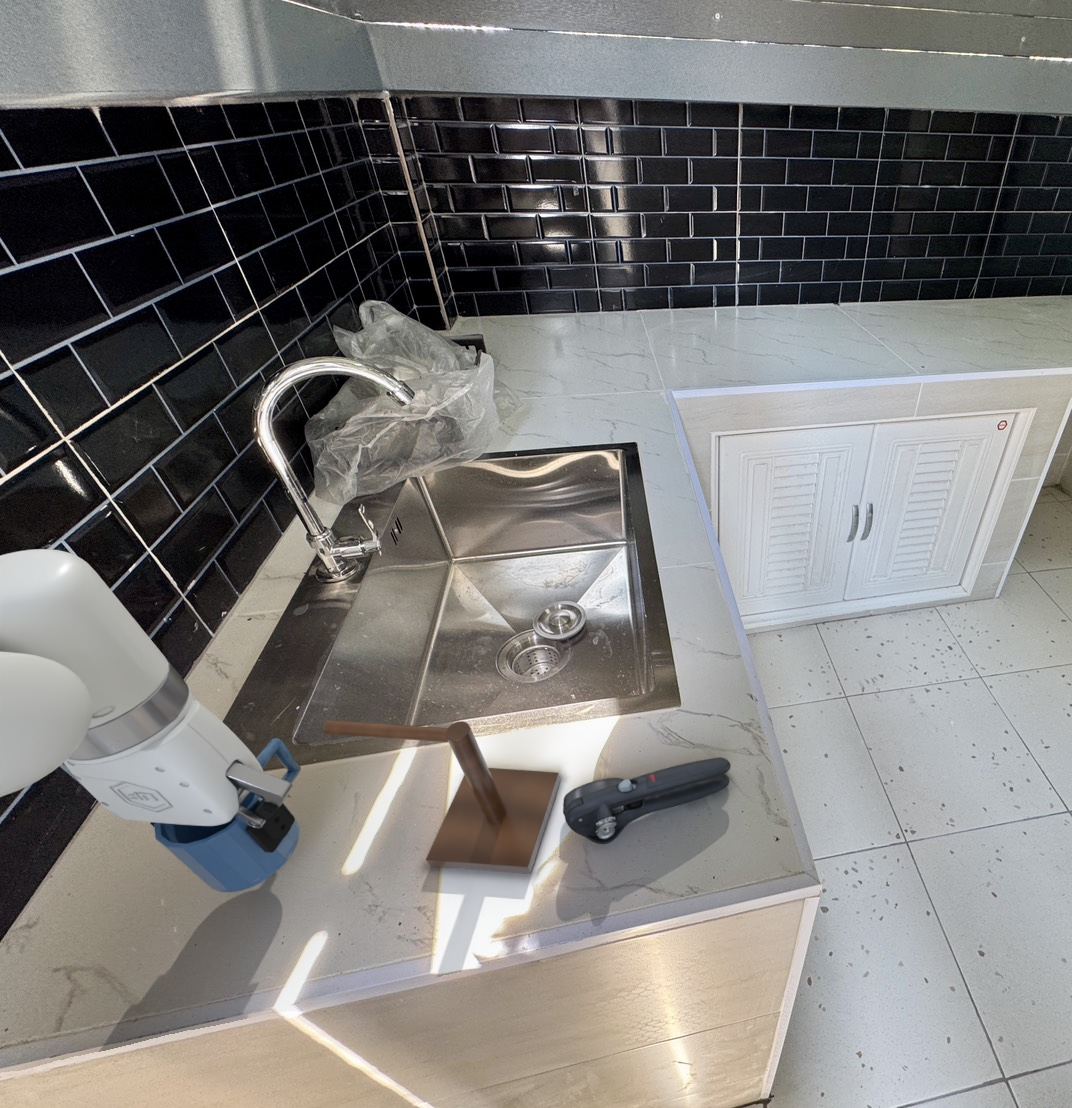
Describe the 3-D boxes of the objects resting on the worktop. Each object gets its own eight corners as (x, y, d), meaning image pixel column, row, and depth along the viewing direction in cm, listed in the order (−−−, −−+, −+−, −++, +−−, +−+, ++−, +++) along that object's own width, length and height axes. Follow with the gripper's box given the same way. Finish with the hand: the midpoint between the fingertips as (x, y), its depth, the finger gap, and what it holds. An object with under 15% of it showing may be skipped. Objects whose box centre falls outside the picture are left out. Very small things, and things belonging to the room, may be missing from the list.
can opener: (570, 863, 59) (561, 835, 56) (563, 799, 64) (554, 770, 61) (741, 809, 64) (742, 781, 60) (721, 754, 69) (721, 725, 65)
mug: (264, 896, 53) (219, 851, 48) (183, 889, 53) (130, 844, 48) (341, 779, 62) (309, 731, 57) (271, 774, 62) (233, 726, 57)
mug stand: (530, 874, 58) (491, 787, 48) (360, 861, 59) (287, 773, 49) (560, 779, 66) (532, 688, 56) (410, 769, 67) (355, 677, 57)
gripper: (-55, 744, 41) (107, 868, 51) (193, 761, 40) (304, 883, 51) (53, 661, 47) (177, 788, 57) (270, 675, 46) (355, 800, 57)
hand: (236, 832), depth 54 cm, fingers closed on mug, 7 cm apart
